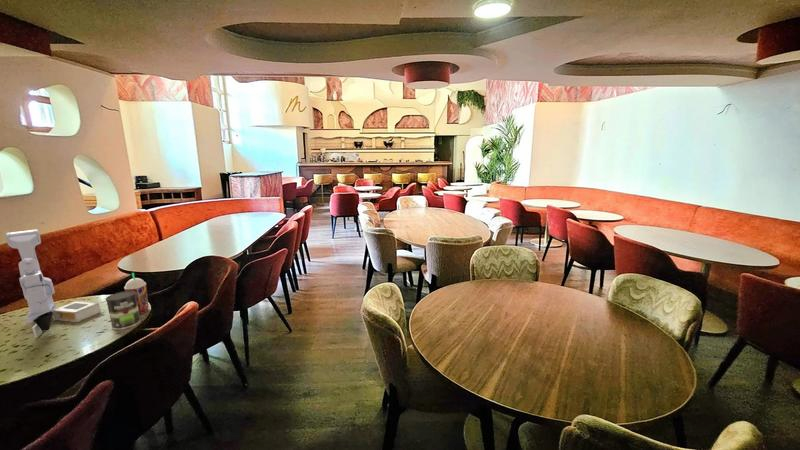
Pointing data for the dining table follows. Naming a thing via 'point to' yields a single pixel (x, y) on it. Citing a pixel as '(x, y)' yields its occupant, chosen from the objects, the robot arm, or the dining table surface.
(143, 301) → the smoothie
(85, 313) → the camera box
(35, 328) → the side door
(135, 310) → the coffee can
